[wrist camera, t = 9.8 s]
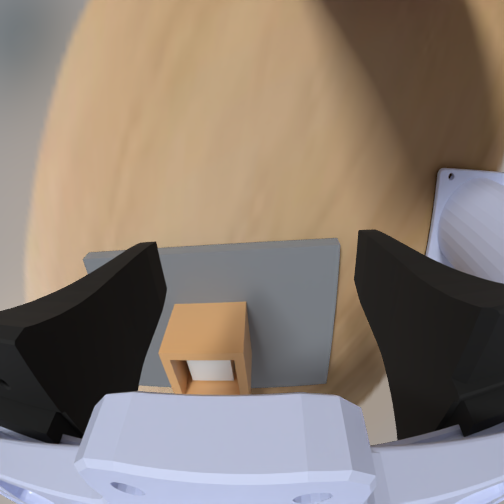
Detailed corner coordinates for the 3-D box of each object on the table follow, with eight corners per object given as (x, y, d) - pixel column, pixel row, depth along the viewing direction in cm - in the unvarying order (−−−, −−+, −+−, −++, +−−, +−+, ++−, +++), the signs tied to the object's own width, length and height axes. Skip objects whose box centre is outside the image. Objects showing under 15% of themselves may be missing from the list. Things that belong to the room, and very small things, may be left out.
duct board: (337, 237, 21) (353, 274, 17) (324, 375, 28) (331, 414, 24) (88, 252, 22) (60, 285, 18) (137, 377, 29) (125, 413, 25)
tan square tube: (174, 303, 23) (158, 353, 18) (246, 301, 23) (243, 352, 18) (196, 380, 27) (188, 426, 23) (254, 380, 27) (254, 427, 22)
